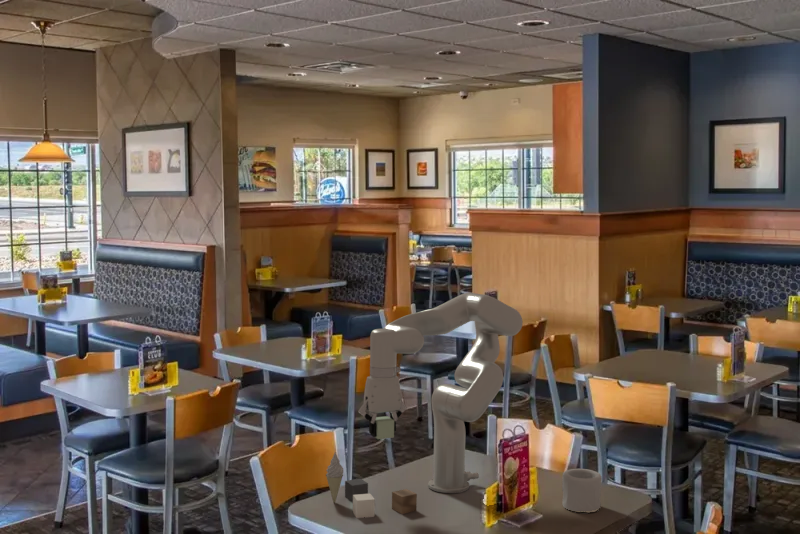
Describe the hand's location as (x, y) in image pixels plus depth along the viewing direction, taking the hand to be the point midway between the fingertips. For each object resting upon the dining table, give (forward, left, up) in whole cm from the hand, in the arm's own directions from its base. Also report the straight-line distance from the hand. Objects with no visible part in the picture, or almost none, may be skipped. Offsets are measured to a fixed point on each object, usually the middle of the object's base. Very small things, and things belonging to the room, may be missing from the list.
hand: (382, 434), depth 255 cm
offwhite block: (+8, +6, -21) cm, 23 cm away
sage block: (0, 0, -1) cm, 1 cm away
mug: (-52, +23, -21) cm, 60 cm away
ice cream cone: (+12, -6, -21) cm, 25 cm away
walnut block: (-4, +7, -21) cm, 22 cm away
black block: (+5, -7, -21) cm, 22 cm away
